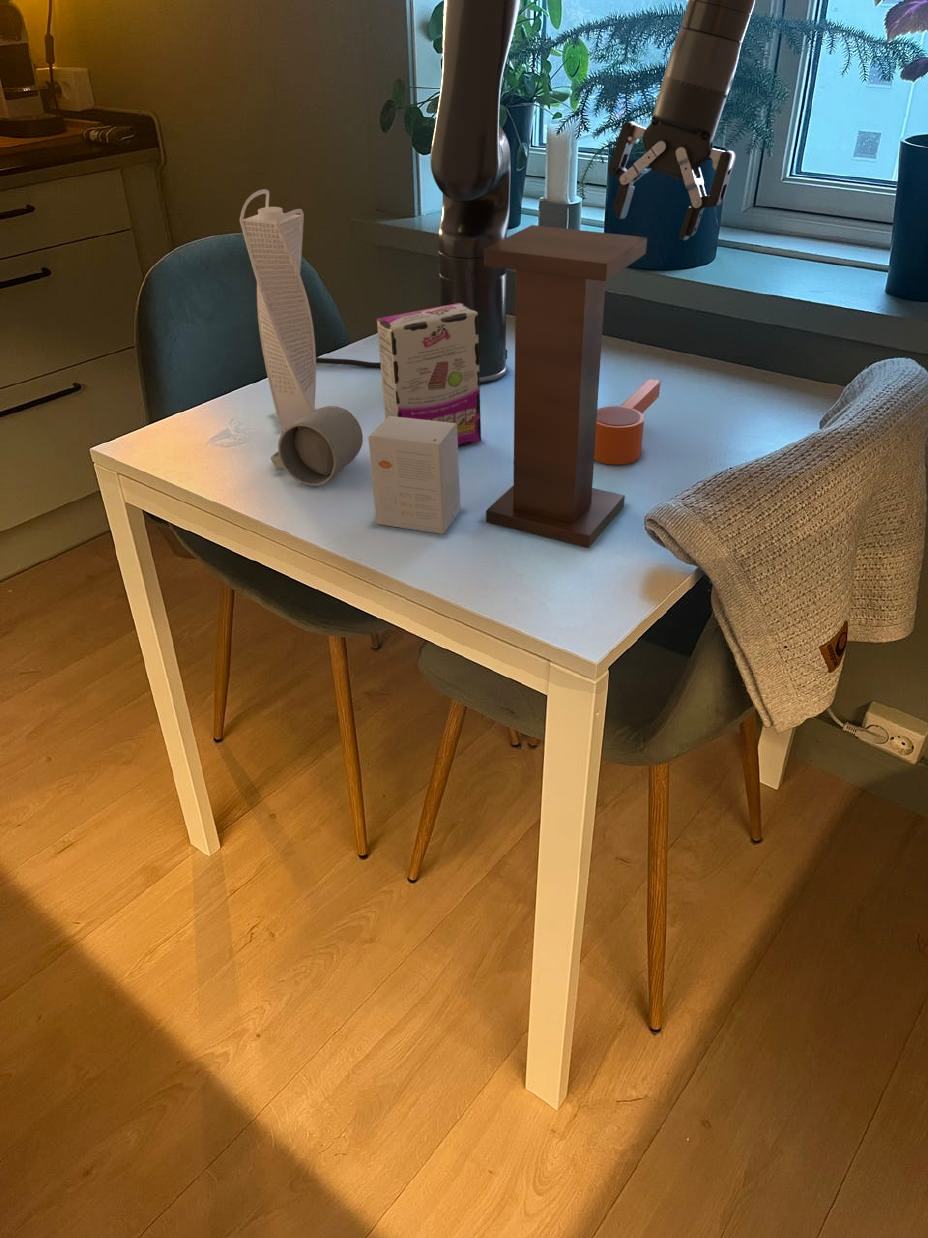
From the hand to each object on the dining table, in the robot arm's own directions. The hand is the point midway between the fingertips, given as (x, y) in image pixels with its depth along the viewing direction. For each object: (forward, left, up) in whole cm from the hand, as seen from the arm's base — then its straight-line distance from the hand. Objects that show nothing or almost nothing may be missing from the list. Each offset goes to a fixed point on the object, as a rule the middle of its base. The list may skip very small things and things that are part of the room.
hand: (651, 228), depth 117 cm
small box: (-17, -39, -22) cm, 48 cm away
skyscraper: (-42, -19, -22) cm, 51 cm away
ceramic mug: (-33, -32, -22) cm, 51 cm away
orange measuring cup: (+1, -12, -22) cm, 25 cm away
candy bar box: (-22, -21, -22) cm, 38 cm away
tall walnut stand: (-2, -34, -22) cm, 41 cm away
